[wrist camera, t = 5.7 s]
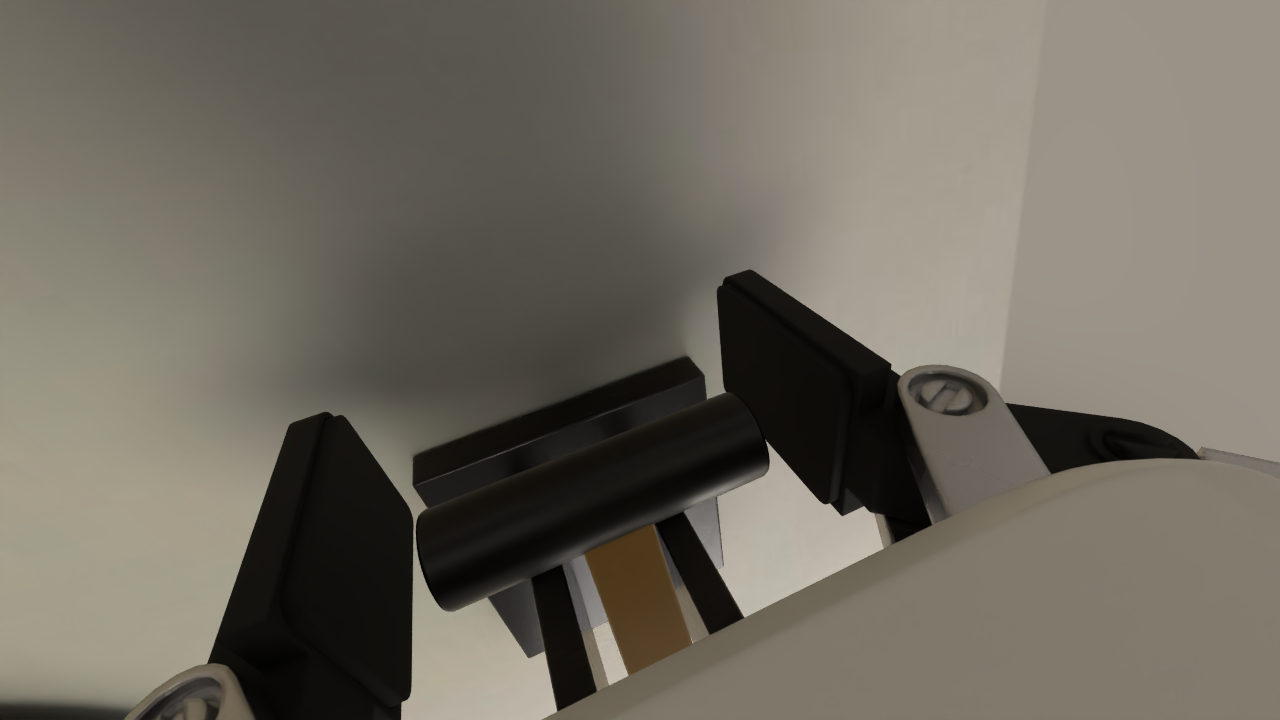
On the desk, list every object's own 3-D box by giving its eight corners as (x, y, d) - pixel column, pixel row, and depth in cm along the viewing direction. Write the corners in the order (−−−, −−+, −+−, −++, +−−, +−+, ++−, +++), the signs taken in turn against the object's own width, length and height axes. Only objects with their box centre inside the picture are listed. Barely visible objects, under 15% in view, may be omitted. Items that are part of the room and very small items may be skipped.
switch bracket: (411, 456, 14) (393, 1442, 4) (688, 354, 16) (1138, 872, 6) (523, 631, 21) (621, 1185, 11) (712, 545, 22) (947, 948, 12)
